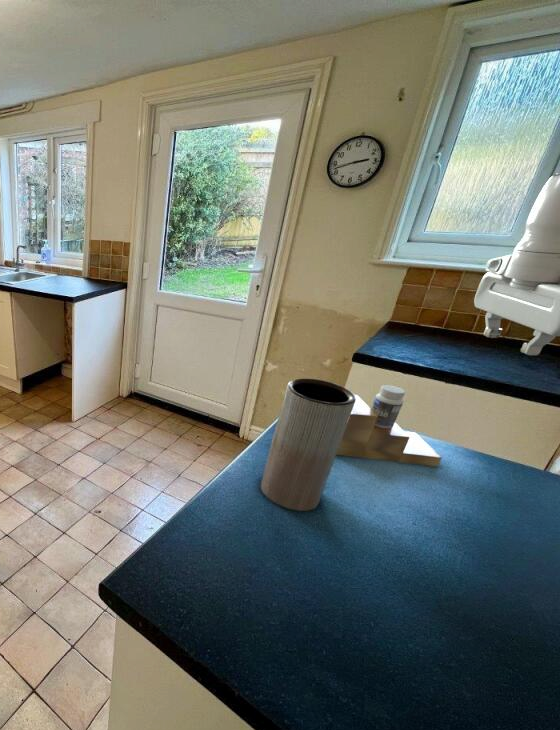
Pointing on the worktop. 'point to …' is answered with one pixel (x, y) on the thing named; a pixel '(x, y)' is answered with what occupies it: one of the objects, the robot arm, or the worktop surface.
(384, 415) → the pill bottle
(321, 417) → the planter
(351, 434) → the small staircase
